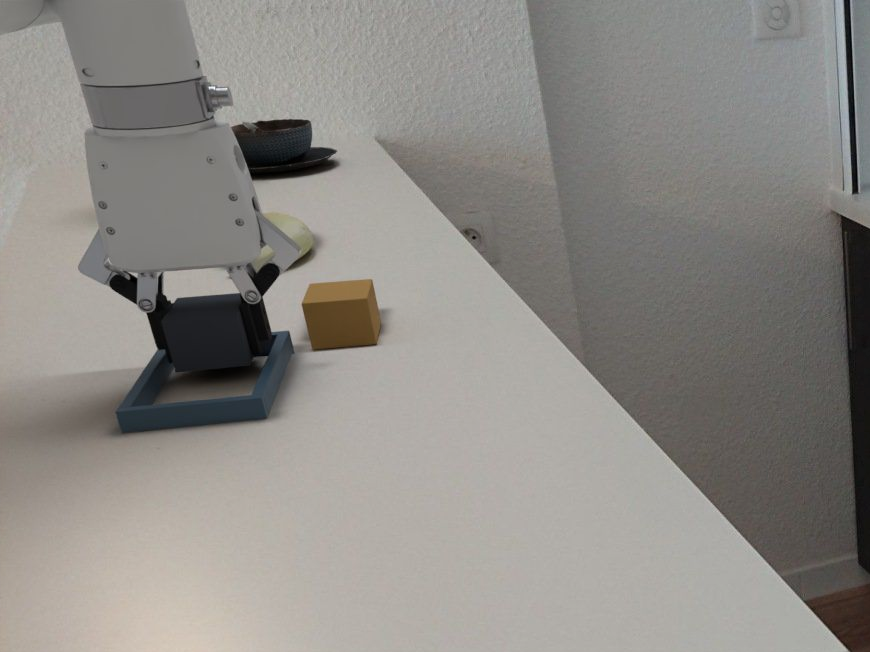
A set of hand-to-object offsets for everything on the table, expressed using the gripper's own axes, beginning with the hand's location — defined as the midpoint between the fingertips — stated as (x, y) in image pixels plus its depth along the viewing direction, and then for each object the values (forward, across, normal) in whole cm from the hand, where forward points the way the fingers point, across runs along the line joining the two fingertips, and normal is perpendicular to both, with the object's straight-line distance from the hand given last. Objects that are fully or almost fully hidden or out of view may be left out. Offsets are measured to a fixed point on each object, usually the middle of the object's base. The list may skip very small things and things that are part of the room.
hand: (218, 351), depth 98 cm
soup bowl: (+3, +7, -86) cm, 87 cm away
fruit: (+3, +2, -40) cm, 40 cm away
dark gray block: (0, 0, 0) cm, 0 cm away
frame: (+3, 0, +4) cm, 4 cm away
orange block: (+3, -8, -10) cm, 13 cm away
